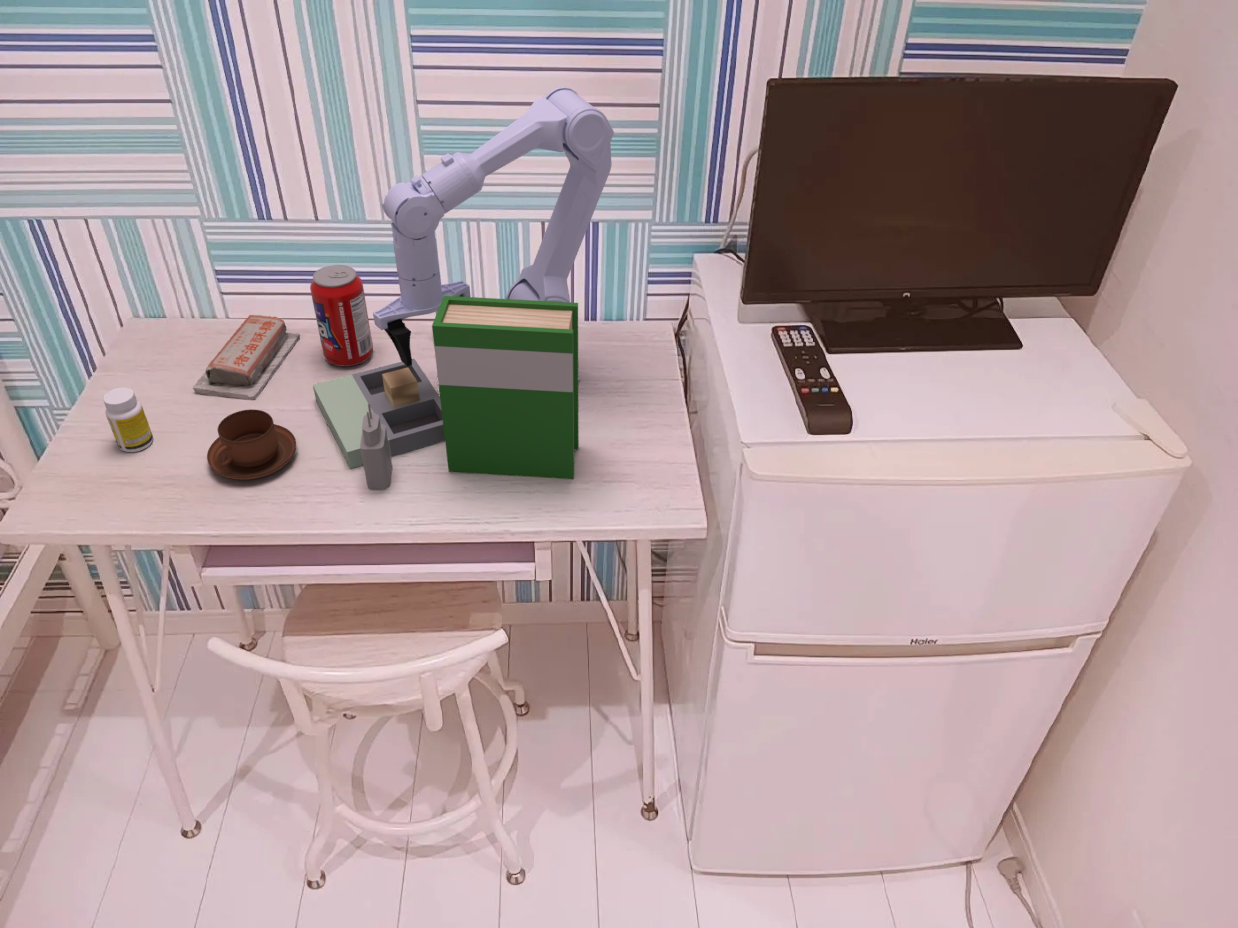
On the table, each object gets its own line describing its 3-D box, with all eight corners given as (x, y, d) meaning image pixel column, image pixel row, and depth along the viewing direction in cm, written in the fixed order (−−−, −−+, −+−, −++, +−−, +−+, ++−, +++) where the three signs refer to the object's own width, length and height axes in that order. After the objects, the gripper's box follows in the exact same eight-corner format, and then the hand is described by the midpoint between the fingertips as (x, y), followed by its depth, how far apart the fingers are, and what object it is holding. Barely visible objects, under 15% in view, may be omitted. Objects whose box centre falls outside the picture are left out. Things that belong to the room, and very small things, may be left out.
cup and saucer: (277, 492, 135) (267, 457, 131) (194, 481, 136) (182, 446, 132) (311, 438, 144) (304, 404, 140) (234, 428, 145) (224, 395, 141)
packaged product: (237, 309, 162) (296, 314, 161) (244, 334, 165) (301, 340, 164) (186, 370, 148) (249, 377, 147) (194, 396, 151) (256, 403, 151)
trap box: (416, 374, 157) (414, 358, 155) (457, 437, 145) (455, 420, 143) (316, 400, 151) (312, 384, 149) (350, 468, 138) (347, 452, 137)
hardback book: (578, 446, 144) (578, 302, 128) (573, 479, 138) (572, 333, 123) (458, 439, 144) (443, 295, 129) (448, 472, 139) (431, 325, 123)
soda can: (373, 368, 157) (359, 286, 148) (322, 372, 156) (305, 288, 147) (374, 342, 163) (361, 260, 154) (326, 345, 162) (310, 263, 153)
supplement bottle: (161, 437, 143) (144, 389, 138) (138, 456, 139) (120, 408, 134) (133, 429, 144) (116, 382, 139) (111, 448, 141) (92, 401, 135)
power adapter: (366, 490, 135) (353, 420, 127) (370, 464, 139) (357, 396, 132) (390, 488, 135) (378, 419, 128) (392, 463, 140) (381, 394, 132)
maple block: (410, 386, 149) (408, 367, 147) (419, 400, 146) (417, 381, 144) (385, 393, 147) (382, 374, 145) (393, 407, 145) (390, 388, 142)
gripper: (448, 244, 142) (456, 325, 150) (357, 275, 134) (371, 358, 143) (475, 263, 137) (482, 345, 146) (382, 296, 130) (395, 380, 139)
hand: (429, 353), depth 144 cm, fingers open, 7 cm apart
